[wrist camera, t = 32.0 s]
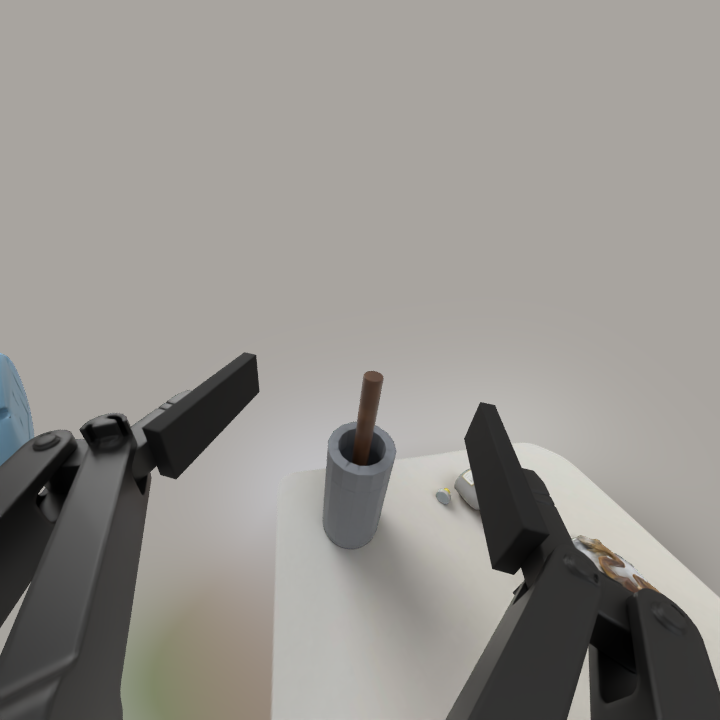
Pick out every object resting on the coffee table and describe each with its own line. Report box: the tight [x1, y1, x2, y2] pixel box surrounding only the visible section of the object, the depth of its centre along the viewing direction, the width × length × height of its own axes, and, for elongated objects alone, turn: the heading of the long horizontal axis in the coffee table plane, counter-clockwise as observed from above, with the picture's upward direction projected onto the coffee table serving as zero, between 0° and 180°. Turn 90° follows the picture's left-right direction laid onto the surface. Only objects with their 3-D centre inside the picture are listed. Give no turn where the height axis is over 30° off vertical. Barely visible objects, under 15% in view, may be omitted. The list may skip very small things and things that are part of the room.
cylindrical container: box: [323, 422, 396, 549], centre depth 34 cm, size 8×8×15 cm
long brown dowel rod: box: [351, 371, 383, 466], centre depth 31 cm, size 3×3×24 cm
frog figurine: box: [572, 535, 660, 593], centre depth 32 cm, size 12×12×4 cm
